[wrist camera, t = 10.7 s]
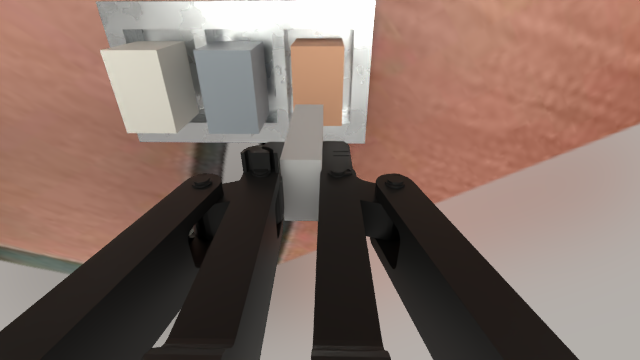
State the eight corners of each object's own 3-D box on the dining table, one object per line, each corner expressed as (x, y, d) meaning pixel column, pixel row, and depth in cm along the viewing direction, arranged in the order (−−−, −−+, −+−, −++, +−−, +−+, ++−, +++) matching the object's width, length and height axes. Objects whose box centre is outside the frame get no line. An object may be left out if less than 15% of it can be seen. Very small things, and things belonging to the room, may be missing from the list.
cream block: (156, 112, 30) (127, 133, 25) (137, 41, 27) (100, 50, 22) (199, 113, 30) (176, 133, 25) (184, 41, 26) (156, 50, 22)
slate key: (226, 113, 30) (209, 133, 25) (215, 41, 26) (193, 50, 22) (269, 113, 29) (259, 133, 25) (263, 41, 26) (250, 50, 22)
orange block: (299, 107, 31) (294, 125, 27) (296, 38, 28) (290, 46, 24) (340, 107, 31) (341, 126, 27) (342, 38, 28) (344, 46, 23)
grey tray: (158, 127, 35) (139, 141, 31) (123, 0, 28) (95, 1, 25) (361, 128, 34) (364, 143, 31) (369, -1, 28) (375, 0, 25)
